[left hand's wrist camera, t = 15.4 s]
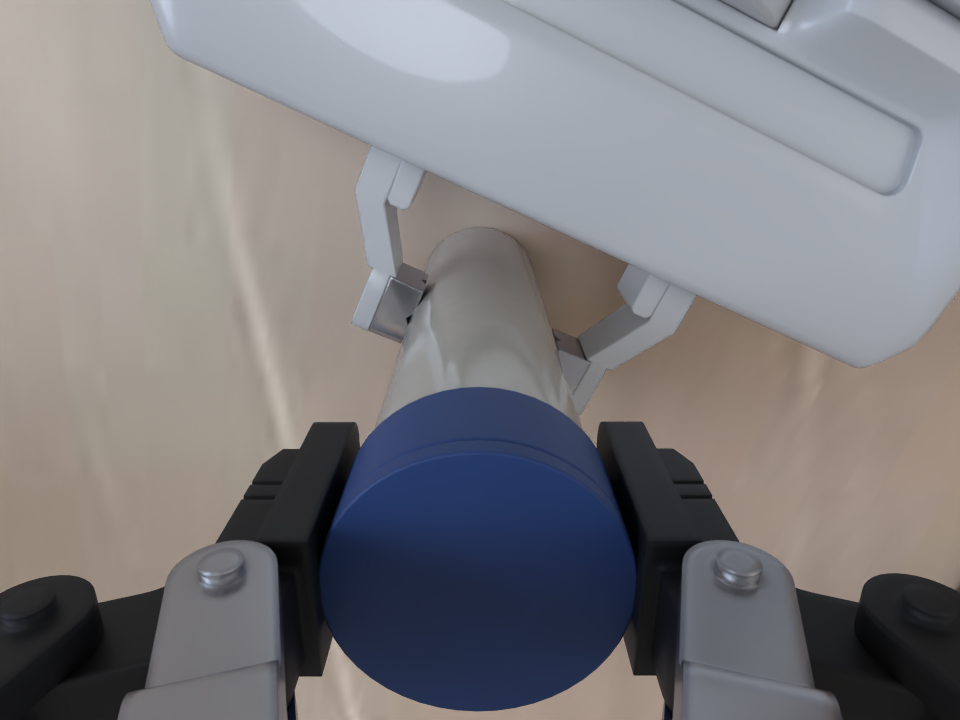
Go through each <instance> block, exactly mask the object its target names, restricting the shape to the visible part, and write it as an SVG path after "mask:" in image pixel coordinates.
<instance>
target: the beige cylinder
mask: <svg viewBox="0 0 960 720" xmlns="http://www.w3.org/2000/svg"><path fill="white" fill-rule="evenodd" d="M425 273H427V274H429V275H428V279H427V282H426V287H425V290H424V293H423V295H422V297H421V300H420V302H419V304H418V307H417V308H416V309H415V311H414V313H413V314H412V315H411V317H410V320H409V323H408V326H407V329H406V333H405V336H404V339H403V342H402V345H401V348H400V351H399V354H398V358H397V361H396V364H395V367H394V370H393V373H392V376H391V379H390V383H389V386H388V389H387V392H386V395H385V398H384V401H383V404H382V408H381V411H380V414H379V417H378V420H377V423H376V426H375V429H376V427H377V426H378V425H379V424H380V423H381V422H383V421H384V420H385V419H386V418H388V417H389V416H390V415H391V414H393V413H394V412H396V411H397V410H399V409H400V408H402V407H404V406H405V405H407V404H409V403H411V402H413V401H416V400H418V399H420V398H422V397H424V396H428V395H431V394H434V393H437V392H441V391H445V390H451V389H457V388H466V387H490V388H500V389H505V390H511V391H516V392H519V393H522V394H525V395H528V396H532V397H534V398H537V399H539V400H541V401H543V402H545V403H547V404H549V405H551V406H553V407H554V408H556V409H557V410H559V411H561V412H562V413H564V414H565V415H566V416H568V417H569V418H570V419H571V420H572V421H574V422H575V423H576V424H577V425H578V426H579V427H580V428H581V429H582V426H581V423H580V420H579V417H578V413H577V410H576V407H575V404H574V400H573V397H572V394H571V391H570V387H569V384H568V381H567V378H566V375H565V371H564V368H563V365H562V362H561V358H560V355H559V352H558V349H557V345H556V342H555V339H554V336H553V332H552V329H551V326H550V323H549V319H548V316H547V313H546V310H545V307H544V303H543V300H542V297H541V294H540V290H539V287H538V284H537V281H536V277H535V274H534V271H533V268H532V265H531V262H530V259H529V257H528V255H527V254H526V252H525V251H524V249H523V248H522V246H521V245H520V244H519V243H518V242H517V241H515V240H514V239H513V238H512V237H510V236H509V235H507V234H505V233H503V232H501V231H498V230H495V229H492V228H485V227H474V228H467V229H463V230H460V231H458V232H455V233H454V234H452V235H450V236H448V237H447V238H446V239H444V240H443V241H442V242H441V243H440V244H439V245H438V246H437V248H436V249H435V250H434V252H433V253H432V255H431V257H430V259H429V261H428V264H427V267H426V270H425ZM375 429H374V430H375Z"/></svg>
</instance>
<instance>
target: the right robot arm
mask: <svg viewBox="0 0 960 720" xmlns="http://www.w3.org/2000/svg"><path fill="white" fill-rule="evenodd" d="M150 3H151V5H152V8H153V11H154V14H155V16H156V19H157V22H158V24H159V27H160V30H161V32H162V35H163V37H164V39H165V42H166V44H167V46H168V48H169V49H170V50H171V51H172V52H173V53H174V54H176V55H177V56H179V57H181V58H183V59H185V60H187V61H189V62H191V63H193V64H196V65H198V66H200V67H202V68H204V69H206V70H209V71H211V72H213V73H215V74H217V75H219V76H222V77H224V78H226V79H228V80H230V81H233V82H235V83H237V84H239V85H241V86H243V87H246V88H248V89H250V90H252V91H254V92H256V93H259V94H261V95H263V96H265V97H267V98H269V99H272V100H274V101H276V102H278V103H280V104H282V105H285V106H287V107H289V108H291V109H293V110H296V111H298V112H300V113H302V114H304V115H306V116H309V117H311V118H313V119H315V120H317V121H319V122H322V123H324V124H326V125H328V126H330V127H332V128H335V129H337V130H339V131H341V132H343V133H346V134H348V135H350V136H352V137H354V138H356V139H359V140H361V141H363V142H365V143H367V144H369V145H371V147H370V150H369V153H368V155H367V158H366V161H365V163H364V166H363V169H362V171H361V174H360V177H359V179H358V182H357V185H356V187H355V194H356V199H357V205H358V211H359V217H360V222H361V228H362V234H363V240H364V245H365V251H366V257H367V263H368V266H369V267H371V268H372V271H371V273H370V276H369V278H368V281H367V283H366V286H365V288H364V291H363V293H362V296H361V298H360V301H359V303H358V306H357V308H356V311H355V313H354V316H353V319H352V323H351V324H353V325H355V326H357V327H359V328H361V329H364V330H366V331H368V330H369V331H370V332H373V333H375V334H378V335H380V336H383V337H385V338H388V339H391V340H393V341H396V342H398V343H402V341H403V339H404V336H405V333H406V329H407V326H408V323H409V320H410V317H411V315H412V314H413V313H414V311H415V309H416V308H417V307H418V304H419V302H420V300H421V297H422V295H423V293H424V290H425V287H426V282H427V279H428V275H429V274H427V273H425V272H422V271H420V270H418V269H416V268H414V267H412V266H409V265H407V264H405V263H403V255H402V248H401V240H400V232H399V224H398V216H397V209H396V207H397V208H400V209H402V210H405V209H407V208H409V207H410V205H411V204H412V202H413V200H414V199H415V197H416V195H417V193H418V191H419V188H420V186H421V183H422V181H423V179H424V176H425V174H426V172H427V171H428V172H430V173H432V174H435V175H437V176H439V177H441V178H443V179H445V180H448V181H450V182H452V183H454V184H456V185H459V186H461V187H463V188H465V189H467V190H469V191H472V192H474V193H476V194H478V195H480V196H482V197H485V198H487V199H489V200H491V201H493V202H495V203H498V204H500V205H502V206H504V207H506V208H509V209H511V210H513V211H515V212H517V213H519V214H522V215H524V216H526V217H528V218H530V219H532V220H535V221H537V222H539V223H541V224H543V225H545V226H548V227H550V228H552V229H554V230H556V231H559V232H561V233H563V234H565V235H567V236H569V237H572V238H574V239H576V240H578V241H580V242H582V243H585V244H587V245H589V246H591V247H593V248H595V249H598V250H600V251H602V252H604V253H606V254H608V255H611V256H613V257H615V258H617V259H619V260H622V261H624V262H626V263H628V266H627V268H626V270H625V271H624V273H623V275H622V277H621V279H620V281H619V283H618V285H617V290H618V292H619V294H620V295H621V296H622V298H623V299H624V301H625V302H626V304H624V305H623V306H621V307H620V308H618V309H617V310H616V311H614V312H613V313H611V314H610V315H608V316H607V317H605V318H604V319H603V320H601V321H600V322H598V323H597V324H595V325H594V326H592V327H591V328H589V329H588V330H587V331H585V332H584V333H582V334H581V335H579V336H578V338H575V337H573V336H570V335H568V334H565V333H563V332H561V331H558V330H556V329H553V328H552V332H553V336H554V339H555V342H556V345H557V349H558V352H559V355H560V358H561V362H562V365H563V368H564V371H565V375H566V378H567V381H568V384H569V387H570V391H571V394H572V397H573V400H574V404H575V407H576V410H577V413H578V416H579V415H580V414H581V413H582V411H583V410H584V408H585V407H586V405H587V403H588V401H589V400H590V398H591V396H592V394H593V393H594V391H595V389H596V387H597V385H598V384H599V382H600V380H601V378H602V377H603V375H604V373H605V371H606V370H607V369H608V370H613V369H614V368H616V367H618V366H620V365H621V364H623V363H625V362H626V361H628V360H630V359H631V358H633V357H635V356H636V355H638V354H640V353H642V352H643V351H645V350H647V349H648V348H650V347H652V346H653V345H655V344H657V343H658V342H660V341H662V340H664V339H665V338H667V337H669V336H670V335H672V334H674V333H675V331H676V330H677V328H678V326H679V325H680V323H681V321H682V320H683V318H684V316H685V315H686V313H687V311H688V310H689V308H690V306H691V305H692V303H693V301H694V300H695V298H696V296H697V295H698V296H700V297H702V298H704V299H706V300H708V301H711V302H713V303H715V304H717V305H719V306H722V307H724V308H726V309H728V310H730V311H732V312H735V313H737V314H739V315H741V316H743V317H745V318H748V319H750V320H752V321H754V322H756V323H758V324H761V325H763V326H765V327H767V328H769V329H771V330H774V331H776V332H778V333H780V334H782V335H785V336H787V337H789V338H791V339H793V340H795V341H798V342H800V343H802V344H804V345H806V346H808V347H811V348H813V349H815V350H817V351H819V352H821V353H824V354H826V355H828V356H830V357H832V358H835V359H837V360H839V361H841V362H843V363H846V364H848V365H850V366H852V367H855V368H866V367H869V366H872V365H874V364H877V363H879V362H882V361H884V360H886V359H888V358H891V357H893V356H895V355H897V354H899V353H902V352H904V351H906V350H908V349H909V348H911V347H912V346H914V345H915V344H916V343H917V342H918V341H919V340H920V339H921V338H922V337H923V336H924V335H925V334H926V332H927V331H928V330H929V329H930V328H931V327H932V325H933V324H934V323H935V322H936V320H937V319H938V318H939V317H940V315H941V314H942V312H943V311H944V310H945V308H946V307H947V306H948V304H949V303H950V302H951V300H952V299H953V298H954V296H955V295H956V294H957V292H958V291H959V290H960V0H150Z"/></svg>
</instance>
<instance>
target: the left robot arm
mask: <svg viewBox="0 0 960 720" xmlns="http://www.w3.org/2000/svg"><path fill="white" fill-rule="evenodd" d="M359 449H360V442H359V432H358V427H357V424H356V423H355V422H314V423H313V425H312V426H311V428H310V430H309V432H308V434H307V436H306V438H305V440H304V442H303V444H302V446H301V448H300V449H283V450H281V451H280V452H279V453H277V454H276V455H275V456H273V457H272V458H270V459H269V460H268V461H266V462H265V463H263V464H262V466H261V468H260V469H259V471H258V473H257V474H256V476H255V478H254V479H253V481H252V485H250V486H249V488H248V490H247V491H246V493H245V495H244V499H243V500H241V501H240V503H239V505H238V506H237V508H236V510H235V511H234V513H233V515H232V516H231V518H230V520H229V521H228V523H227V525H226V526H225V528H224V530H223V532H222V533H221V535H220V537H219V538H218V540H217V542H216V543H215V544H212V545H209V546H206V547H204V548H202V549H199V550H197V551H195V552H193V553H192V554H190V555H188V556H187V557H185V558H184V559H182V560H181V561H180V562H179V563H178V564H177V565H176V566H175V567H174V568H173V569H172V570H171V572H170V574H169V575H168V577H167V580H166V584H165V587H163V588H160V589H157V590H154V591H151V592H147V593H143V594H139V595H134V596H129V597H125V598H120V599H115V600H111V601H106V602H101V603H98V601H97V597H96V593H95V590H94V587H93V586H92V584H91V583H90V582H88V581H87V580H85V579H83V578H80V577H76V576H70V575H58V576H49V577H43V578H39V579H35V580H31V581H28V582H25V583H22V584H19V585H17V586H15V587H12V588H10V589H8V590H6V591H4V592H2V593H0V720H298V713H297V706H296V698H295V687H296V684H297V681H298V677H299V676H322V674H323V671H324V667H325V663H326V660H327V656H328V652H329V649H330V645H331V641H332V638H333V635H332V633H331V631H330V629H329V628H328V626H327V623H326V620H325V618H324V614H323V607H322V598H321V589H320V578H319V561H320V555H321V552H322V549H323V546H324V543H325V540H326V537H327V534H328V531H329V528H330V526H331V523H332V520H333V517H334V514H335V511H336V508H337V505H338V503H339V500H340V497H341V494H342V491H343V488H344V486H345V483H346V480H347V477H348V474H349V471H350V469H351V466H352V463H353V461H354V459H355V457H356V455H357V453H358V451H359ZM597 450H598V452H599V454H600V456H601V458H602V460H603V462H604V464H605V467H606V470H607V473H608V476H609V479H610V482H611V485H612V488H613V490H614V493H615V496H616V499H617V502H618V505H619V508H620V511H621V514H622V517H623V520H624V523H625V526H626V529H627V531H628V534H629V537H630V540H631V543H632V547H633V550H634V554H635V557H636V563H637V576H636V587H635V596H634V605H633V614H632V617H631V620H630V623H629V625H628V628H627V630H626V631H625V633H624V635H623V637H624V641H625V645H626V649H627V652H628V656H629V660H630V664H631V667H632V671H633V675H656V676H657V679H658V682H659V685H660V689H661V692H662V695H663V698H664V706H663V713H662V720H960V593H959V592H957V591H955V590H953V589H951V588H949V587H947V586H945V585H943V584H940V583H938V582H935V581H932V580H929V579H926V578H922V577H918V576H913V575H908V574H898V573H892V574H882V575H878V576H875V577H873V578H871V579H869V580H868V581H867V582H866V583H865V584H864V587H863V589H862V593H861V597H860V601H859V603H858V602H853V601H849V600H844V599H839V598H835V597H830V596H825V595H821V594H816V593H812V592H808V591H804V590H800V589H797V588H795V584H794V580H793V577H792V575H791V574H790V572H789V570H788V569H787V568H786V567H785V566H784V565H783V564H782V563H781V562H780V561H779V560H778V559H776V558H775V557H773V556H772V555H770V554H768V553H767V552H765V551H763V550H761V549H758V548H756V547H754V546H751V545H748V544H744V543H740V542H739V540H738V539H737V537H736V535H735V534H734V532H733V530H732V528H731V527H730V525H729V523H728V522H727V520H726V518H725V516H724V515H723V513H722V511H721V510H720V508H719V506H718V505H717V503H716V501H715V499H712V494H711V493H710V491H709V489H708V487H707V486H706V484H704V481H703V479H702V477H701V475H700V474H699V472H698V470H697V469H696V467H695V465H694V464H693V463H692V462H691V461H689V460H688V459H687V458H685V457H684V456H682V455H681V454H680V453H678V452H677V451H676V450H674V449H656V447H655V445H654V443H653V441H652V439H651V437H650V435H649V433H648V431H647V429H646V427H645V425H644V424H643V422H601V423H600V425H599V429H598V437H597Z"/></svg>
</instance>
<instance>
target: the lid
mask: <svg viewBox="0 0 960 720" xmlns="http://www.w3.org/2000/svg"><path fill="white" fill-rule="evenodd" d="M636 576H637V563H636V557H635V554H634V550H633V547H632V543H631V540H630V537H629V534H628V531H627V529H626V526H625V523H624V520H623V517H622V514H621V511H620V508H619V505H618V502H617V499H616V496H615V493H614V490H613V488H612V485H611V482H610V479H609V476H608V473H607V470H606V467H605V464H604V462H603V460H602V458H601V456H600V454H599V452H598V450H597V449H596V447H595V446H594V444H593V443H592V441H591V440H590V438H589V437H588V436H587V435H586V434H585V432H584V431H583V430H582V429H581V428H580V427H579V426H578V425H577V424H576V423H575V422H574V421H572V420H571V419H570V418H569V417H568V416H566V415H565V414H564V413H562V412H561V411H559V410H557V409H556V408H554V407H553V406H551V405H549V404H547V403H545V402H543V401H541V400H539V399H537V398H534V397H532V396H528V395H525V394H522V393H519V392H516V391H511V390H505V389H500V388H490V387H466V388H457V389H451V390H445V391H441V392H437V393H434V394H431V395H428V396H424V397H422V398H420V399H418V400H416V401H413V402H411V403H409V404H407V405H405V406H404V407H402V408H400V409H399V410H397V411H396V412H394V413H393V414H391V415H390V416H389V417H388V418H386V419H385V420H384V421H383V422H381V423H380V424H379V425H378V426H377V427H376V429H375V430H374V431H373V432H372V433H371V434H370V435H369V436H368V438H367V439H366V440H365V442H364V443H363V445H362V446H361V448H360V449H359V451H358V453H357V455H356V457H355V459H354V461H353V463H352V466H351V469H350V471H349V474H348V477H347V480H346V483H345V486H344V488H343V491H342V494H341V497H340V500H339V503H338V505H337V508H336V511H335V514H334V517H333V520H332V523H331V526H330V528H329V531H328V534H327V537H326V540H325V543H324V546H323V549H322V552H321V555H320V561H319V578H320V589H321V598H322V607H323V614H324V618H325V620H326V623H327V626H328V628H329V629H330V631H331V633H332V635H333V637H334V639H335V641H336V642H337V643H338V645H339V646H340V648H341V649H342V650H343V652H344V653H345V654H346V655H347V656H348V658H349V659H350V660H351V661H352V662H353V663H354V664H355V665H356V666H357V667H358V668H359V669H361V670H362V671H363V672H364V673H365V674H367V675H368V676H369V677H370V678H372V679H373V680H375V681H376V682H378V683H379V684H381V685H383V686H384V687H386V688H387V689H390V690H392V691H394V692H396V693H398V694H400V695H402V696H404V697H407V698H409V699H412V700H415V701H417V702H420V703H424V704H428V705H432V706H435V707H440V708H446V709H453V710H462V711H496V710H503V709H510V708H516V707H521V706H525V705H529V704H533V703H536V702H539V701H541V700H544V699H547V698H550V697H552V696H554V695H556V694H559V693H561V692H563V691H565V690H567V689H569V688H570V687H572V686H573V685H575V684H577V683H578V682H580V681H582V680H583V679H584V678H586V677H587V676H588V675H589V674H591V673H592V672H593V671H594V670H596V669H597V668H598V667H599V666H600V665H601V664H602V663H603V662H604V661H605V660H606V659H607V658H608V657H609V656H610V654H611V653H612V652H613V650H614V649H615V648H616V646H617V645H618V644H619V642H620V641H621V639H622V637H623V635H624V633H625V631H626V630H627V628H628V625H629V623H630V620H631V617H632V614H633V605H634V596H635V587H636Z"/></svg>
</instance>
